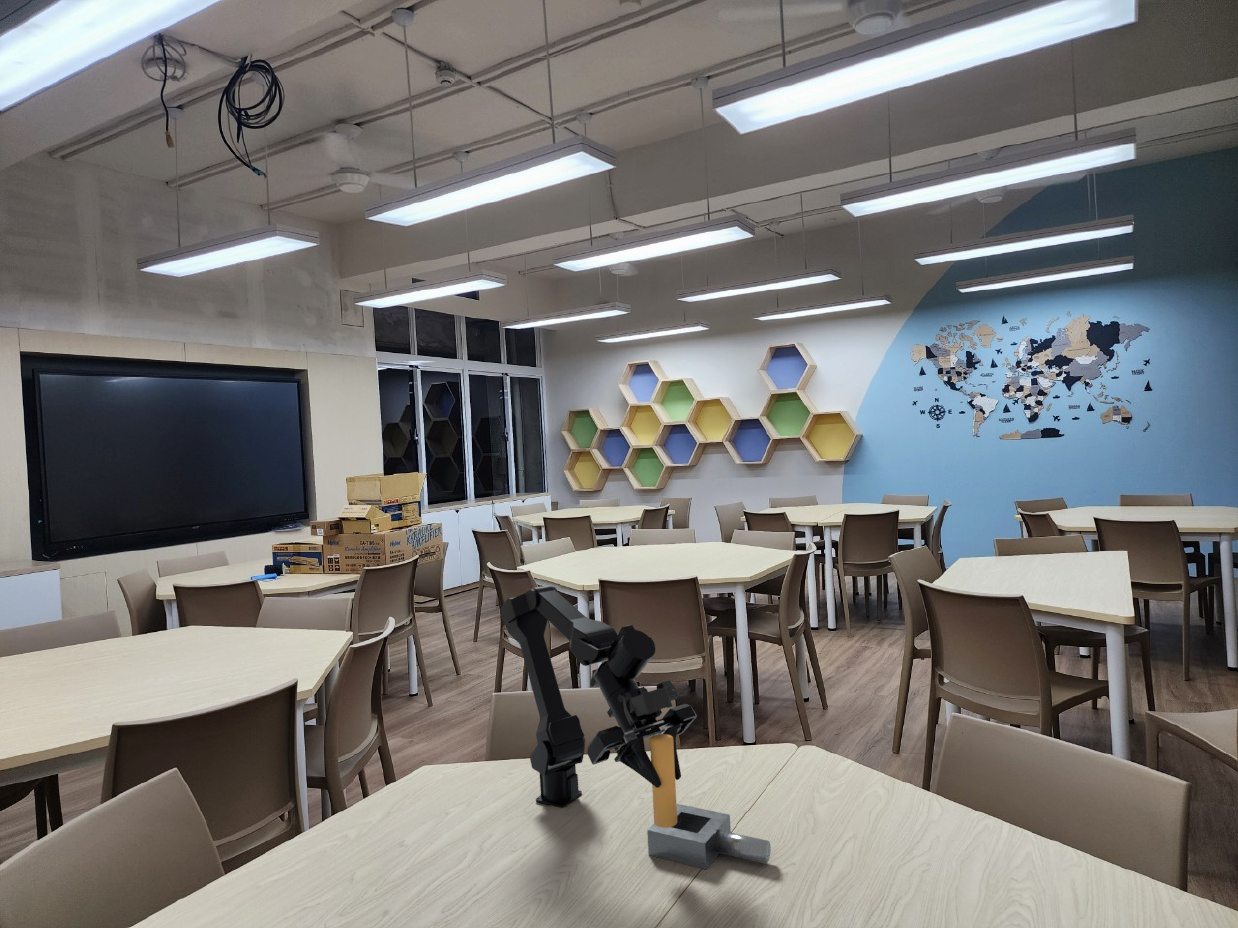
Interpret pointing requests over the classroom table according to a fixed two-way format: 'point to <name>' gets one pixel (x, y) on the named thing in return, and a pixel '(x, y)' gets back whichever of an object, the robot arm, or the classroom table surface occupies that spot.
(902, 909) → the classroom table surface
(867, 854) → the classroom table surface
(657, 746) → the orange cylinder
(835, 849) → the classroom table surface
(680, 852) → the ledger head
